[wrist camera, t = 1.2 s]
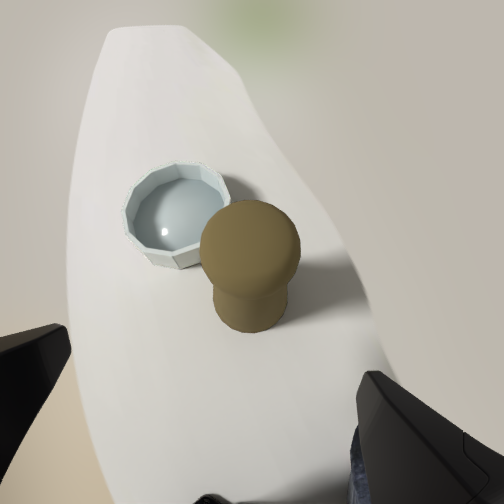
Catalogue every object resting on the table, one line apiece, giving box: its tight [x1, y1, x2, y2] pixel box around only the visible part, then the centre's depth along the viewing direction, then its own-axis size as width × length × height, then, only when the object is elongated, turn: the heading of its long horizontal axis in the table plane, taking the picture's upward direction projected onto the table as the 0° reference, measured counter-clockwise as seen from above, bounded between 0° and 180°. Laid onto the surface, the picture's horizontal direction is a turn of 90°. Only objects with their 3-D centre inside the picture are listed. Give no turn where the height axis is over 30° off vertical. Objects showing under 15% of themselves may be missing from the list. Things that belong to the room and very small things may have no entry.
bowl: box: [121, 161, 231, 269], centre depth 25 cm, size 9×9×3 cm
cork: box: [199, 200, 301, 333], centre depth 19 cm, size 6×6×11 cm
